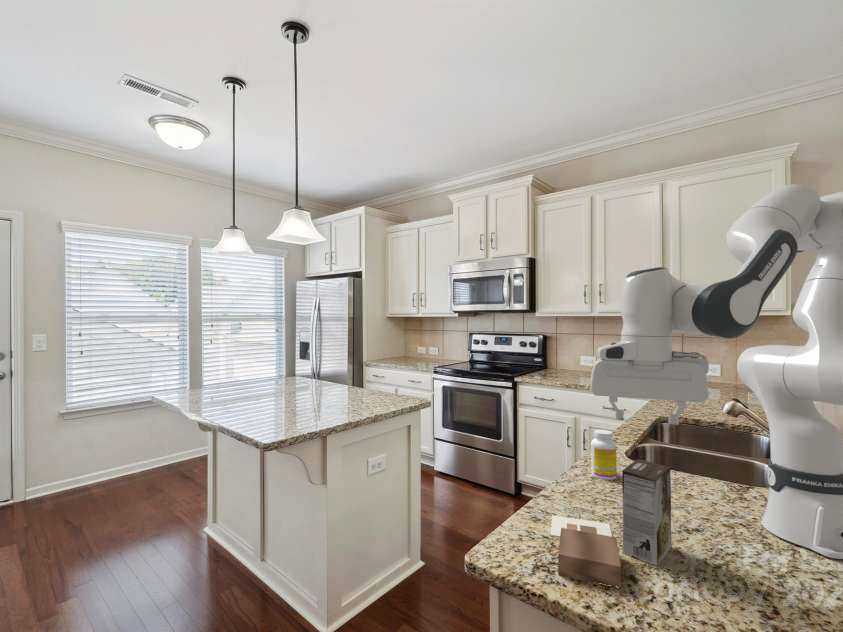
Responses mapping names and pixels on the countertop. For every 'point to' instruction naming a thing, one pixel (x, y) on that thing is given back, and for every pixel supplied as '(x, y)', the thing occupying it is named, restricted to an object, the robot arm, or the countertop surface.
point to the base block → (589, 557)
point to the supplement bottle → (603, 455)
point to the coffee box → (646, 510)
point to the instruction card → (578, 526)
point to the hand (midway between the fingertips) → (645, 421)
